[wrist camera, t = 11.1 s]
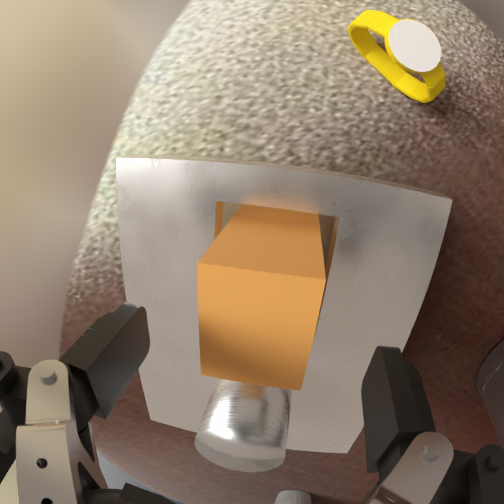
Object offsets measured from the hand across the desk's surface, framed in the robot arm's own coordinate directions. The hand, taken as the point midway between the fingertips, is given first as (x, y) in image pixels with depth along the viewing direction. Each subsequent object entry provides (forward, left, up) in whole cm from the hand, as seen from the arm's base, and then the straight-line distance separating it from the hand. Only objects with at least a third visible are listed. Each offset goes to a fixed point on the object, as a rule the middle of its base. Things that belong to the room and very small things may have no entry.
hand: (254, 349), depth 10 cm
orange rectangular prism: (0, 0, -11) cm, 11 cm away
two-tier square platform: (0, +5, -12) cm, 13 cm away
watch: (-5, -12, -12) cm, 18 cm away
